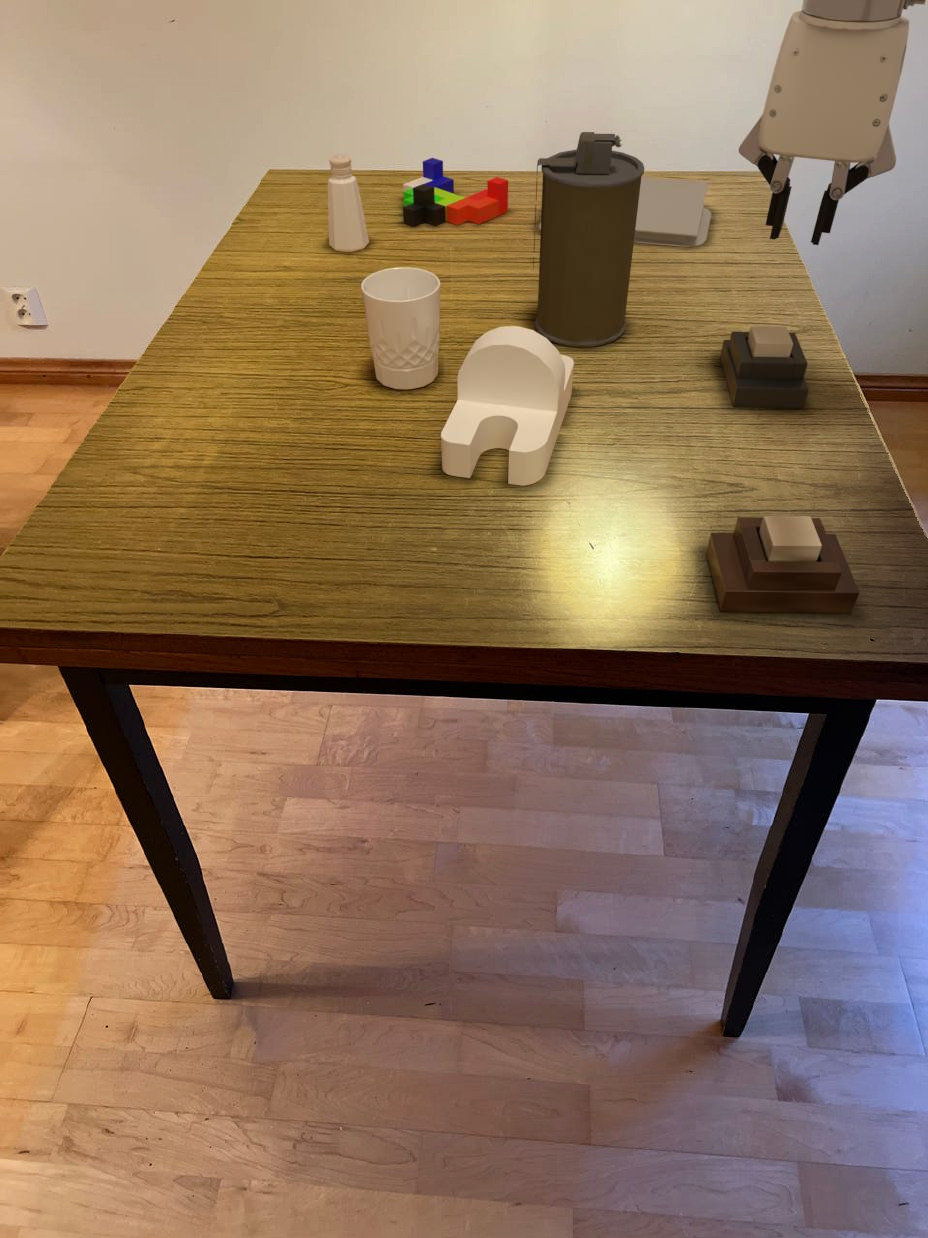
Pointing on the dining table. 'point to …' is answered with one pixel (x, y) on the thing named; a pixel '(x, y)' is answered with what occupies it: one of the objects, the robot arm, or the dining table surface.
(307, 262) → the dining table surface
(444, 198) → the building blocks
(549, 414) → the slotted bracket
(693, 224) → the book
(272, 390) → the dining table surface
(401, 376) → the white cup
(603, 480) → the dining table surface
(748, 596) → the near block
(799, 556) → the near key
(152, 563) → the dining table surface
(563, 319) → the canister
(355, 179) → the salt shaker
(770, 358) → the far block
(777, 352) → the far key
